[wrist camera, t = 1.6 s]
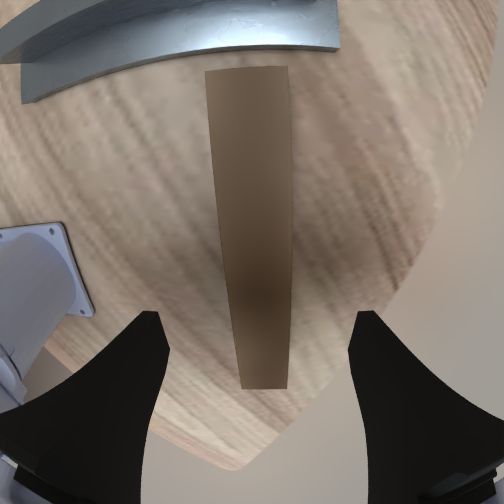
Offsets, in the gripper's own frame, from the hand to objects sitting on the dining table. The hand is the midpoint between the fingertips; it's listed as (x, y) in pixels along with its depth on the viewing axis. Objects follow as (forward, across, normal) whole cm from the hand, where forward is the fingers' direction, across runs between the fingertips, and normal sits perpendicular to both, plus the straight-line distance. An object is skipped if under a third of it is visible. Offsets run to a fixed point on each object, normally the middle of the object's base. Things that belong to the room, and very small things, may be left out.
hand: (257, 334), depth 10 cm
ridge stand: (+7, +5, -14) cm, 17 cm away
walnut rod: (+8, 0, 0) cm, 8 cm away
